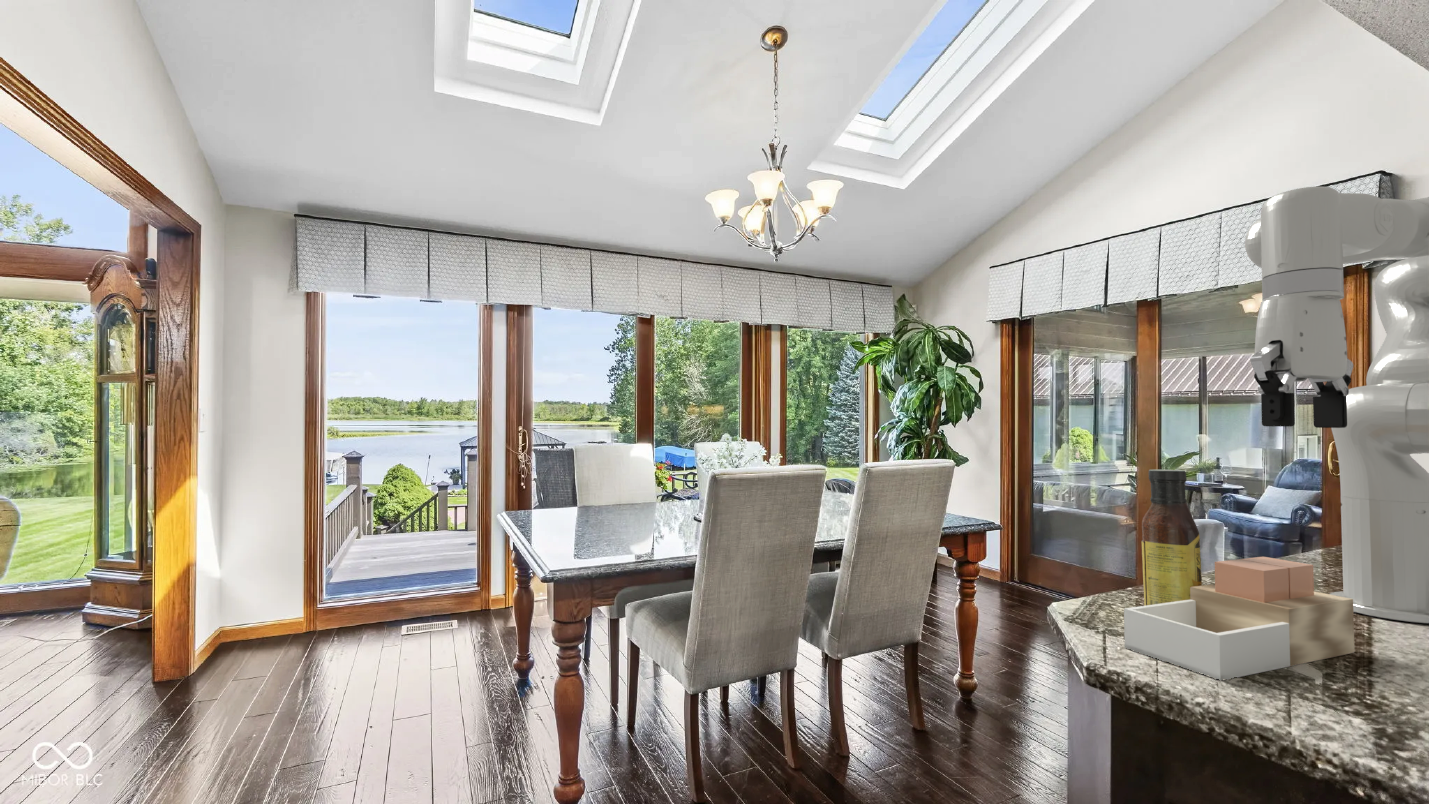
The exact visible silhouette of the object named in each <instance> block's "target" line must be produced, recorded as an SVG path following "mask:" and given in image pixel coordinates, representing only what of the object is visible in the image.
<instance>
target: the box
mask: <svg viewBox="0 0 1429 804" xmlns="http://www.w3.org/2000/svg"><path fill="white" fill-rule="evenodd" d="M1123 619H1124V620H1123V622H1124V623H1123V625H1124V626H1123V634H1124V636H1123V637H1124V649H1126V648H1127V649H1126V650H1128V649H1131V650H1134V651H1136V652H1135V653H1137V652H1140V653H1142V654H1141V655H1143V654H1146V655H1148V656H1147V657H1149V656H1151V657H1150V658H1152V657H1153V659H1155V658H1157V659H1156V660H1158V659H1159V660H1158V661H1161V660H1162V661H1161V662H1164V661H1167V662H1170V663H1173V664H1175V665H1179V666H1181V667H1184V668H1187V669H1189V670H1188V671H1190V670H1193V671H1195V672H1194V673H1196V672H1200V673H1203V674H1204V675H1209V676H1210V677H1213V678H1216V679H1219V680H1223V679H1227V680H1231V679H1230V678H1232V679H1235V678H1234V677H1237V678H1242V677H1245V676H1246V677H1247V676H1249V675H1250V676H1251V675H1255V674H1259V673H1260V674H1261V673H1264V672H1268V671H1273V670H1279V669H1282V668H1284V669H1285V668H1288V667H1291V666H1290V639H1289V623H1285V622H1279V623H1273V624H1267V625H1261V626H1255V627H1249V628H1243V629H1237V630H1232V631H1226V632H1220V633H1215V632H1211V631H1208V630H1204V629H1201V628H1197V627H1196V601H1195V600H1191V599H1190V600H1183V601H1175V602H1168V603H1161V604H1154V605H1146V606H1144V605H1140V606H1133V607H1127V608H1126V607H1125V608H1123ZM1131 650H1130V651H1131ZM1134 651H1133V652H1134ZM1140 653H1139V654H1140ZM1146 655H1145V656H1146ZM1175 665H1174V666H1175ZM1181 667H1180V668H1181ZM1184 668H1183V669H1184ZM1187 669H1186V670H1187ZM1193 671H1192V672H1193ZM1204 675H1203V676H1204ZM1210 677H1209V678H1210ZM1213 678H1212V679H1213ZM1216 679H1215V680H1216ZM1219 680H1218V681H1219ZM1223 681H1224V680H1223Z"/></svg>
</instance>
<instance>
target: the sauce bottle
mask: <svg viewBox="0 0 1429 804" xmlns="http://www.w3.org/2000/svg"><path fill="white" fill-rule="evenodd" d="M1186 472H1187V471H1186V470H1184V469H1183V470H1182V469H1161V468H1160V469H1149V470H1148V480H1149V482H1150V499H1149V500H1150V503H1151V504H1150V506H1149V508H1148V510H1147V511H1146V512H1145V514H1144V515H1143V517H1142V521H1141V530H1142V531H1141V532H1142V535H1141V536H1142V540H1141V557H1142V560H1141V561H1142V580H1143V603H1144V605H1143V606H1146V605H1154V604H1161V603H1168V602H1175V601H1183V600H1190V587H1194V586H1202V585H1203V584H1202V583H1203V578H1202V577H1203V576H1202V575H1203V574H1202V558H1201V540H1200V539H1201V537H1200V531H1199V529H1198V527H1197V524H1196V522H1195V519H1194V517H1193V515H1192V513H1191V510H1190V507H1189V506H1188V503H1187V502H1188V501H1187V499H1186V482H1187V473H1186Z"/></svg>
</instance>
